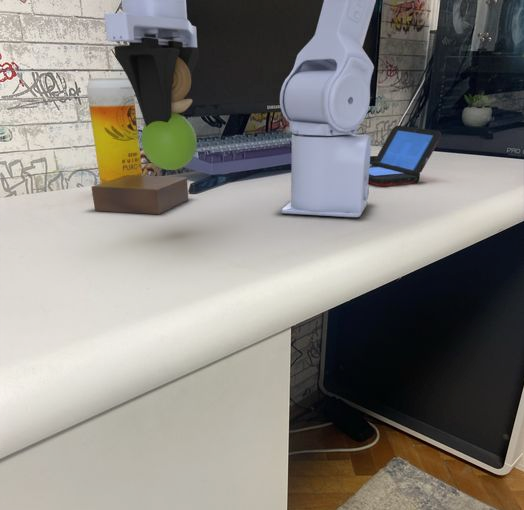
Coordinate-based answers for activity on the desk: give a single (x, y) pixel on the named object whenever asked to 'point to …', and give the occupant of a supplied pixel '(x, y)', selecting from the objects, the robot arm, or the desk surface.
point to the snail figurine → (172, 127)
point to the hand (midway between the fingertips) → (165, 129)
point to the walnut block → (140, 194)
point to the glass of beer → (114, 127)
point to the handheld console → (403, 156)
